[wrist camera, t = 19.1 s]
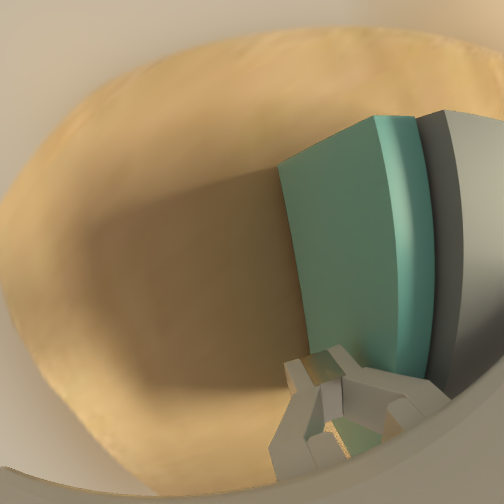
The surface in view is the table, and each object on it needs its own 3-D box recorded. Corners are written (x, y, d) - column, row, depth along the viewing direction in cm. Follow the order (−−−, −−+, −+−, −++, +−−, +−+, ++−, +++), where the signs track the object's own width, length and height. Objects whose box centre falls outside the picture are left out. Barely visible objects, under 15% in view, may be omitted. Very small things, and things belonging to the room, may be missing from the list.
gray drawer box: (465, 313, 18) (547, 358, 8) (331, 378, 17) (404, 488, 7) (460, 149, 15) (566, 142, 5) (299, 162, 14) (444, 110, 4)
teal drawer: (460, 321, 17) (532, 364, 9) (314, 389, 16) (370, 491, 7) (455, 148, 14) (552, 140, 6) (277, 165, 13) (373, 115, 4)
